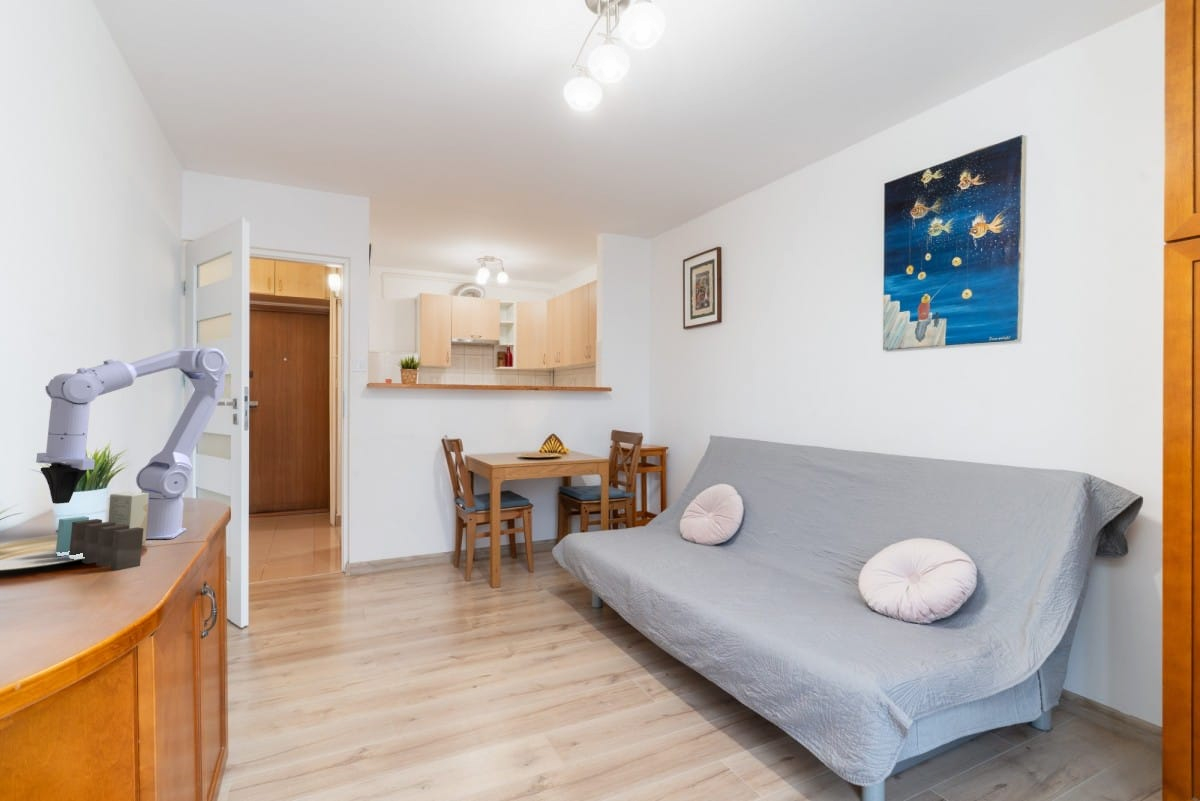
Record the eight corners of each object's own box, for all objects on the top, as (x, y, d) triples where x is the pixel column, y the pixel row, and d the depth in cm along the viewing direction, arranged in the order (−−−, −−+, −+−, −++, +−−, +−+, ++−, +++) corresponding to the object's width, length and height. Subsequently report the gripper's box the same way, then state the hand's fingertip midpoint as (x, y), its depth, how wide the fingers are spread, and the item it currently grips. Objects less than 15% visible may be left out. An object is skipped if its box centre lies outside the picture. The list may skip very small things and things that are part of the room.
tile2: (68, 559, 108) (72, 522, 108) (93, 554, 112) (96, 518, 112) (74, 560, 108) (77, 523, 108) (98, 555, 111) (102, 519, 112)
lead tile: (55, 555, 109) (59, 519, 110) (80, 551, 113) (83, 516, 113) (60, 557, 109) (64, 520, 109) (85, 552, 113) (88, 517, 113)
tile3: (82, 562, 107) (85, 524, 107) (106, 557, 111) (110, 521, 111) (87, 563, 106) (91, 526, 106) (112, 559, 110) (115, 522, 110)
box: (146, 545, 121) (151, 493, 121) (127, 550, 116) (132, 495, 117) (123, 543, 121) (128, 490, 122) (104, 547, 117) (109, 493, 117)
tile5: (110, 569, 104) (113, 530, 104) (134, 564, 108) (137, 527, 108) (115, 570, 104) (119, 532, 104) (140, 565, 107) (143, 528, 108)
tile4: (95, 565, 105) (99, 527, 106) (120, 561, 109) (123, 524, 109) (101, 567, 105) (105, 528, 105) (125, 562, 109) (129, 525, 109)
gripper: (19, 431, 112) (12, 500, 111) (66, 437, 107) (59, 510, 107) (63, 431, 118) (57, 496, 118) (109, 437, 114) (102, 505, 113)
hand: (60, 502), depth 113 cm, fingers closed
